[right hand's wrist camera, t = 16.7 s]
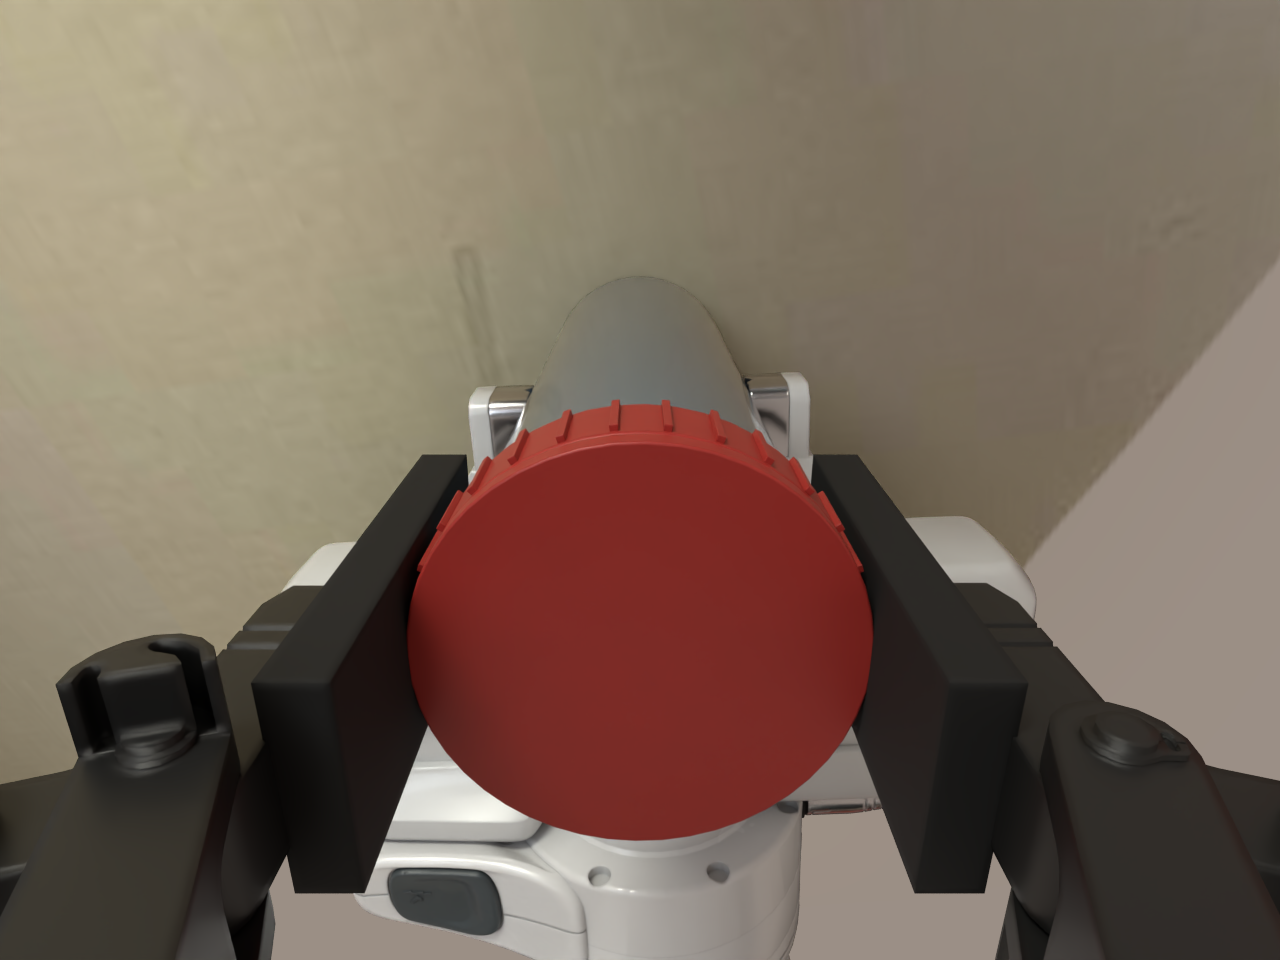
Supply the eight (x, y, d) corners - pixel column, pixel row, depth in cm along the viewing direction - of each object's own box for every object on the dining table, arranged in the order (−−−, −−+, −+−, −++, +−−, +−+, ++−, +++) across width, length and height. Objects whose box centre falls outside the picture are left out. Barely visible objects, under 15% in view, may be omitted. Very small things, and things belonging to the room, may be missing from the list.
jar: (737, 289, 25) (888, 478, 10) (708, 451, 27) (795, 816, 12) (565, 264, 25) (449, 418, 10) (548, 430, 27) (428, 774, 12)
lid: (389, 420, 11) (347, 463, 9) (847, 374, 11) (882, 409, 9) (471, 780, 13) (449, 862, 12) (852, 748, 13) (880, 827, 11)
